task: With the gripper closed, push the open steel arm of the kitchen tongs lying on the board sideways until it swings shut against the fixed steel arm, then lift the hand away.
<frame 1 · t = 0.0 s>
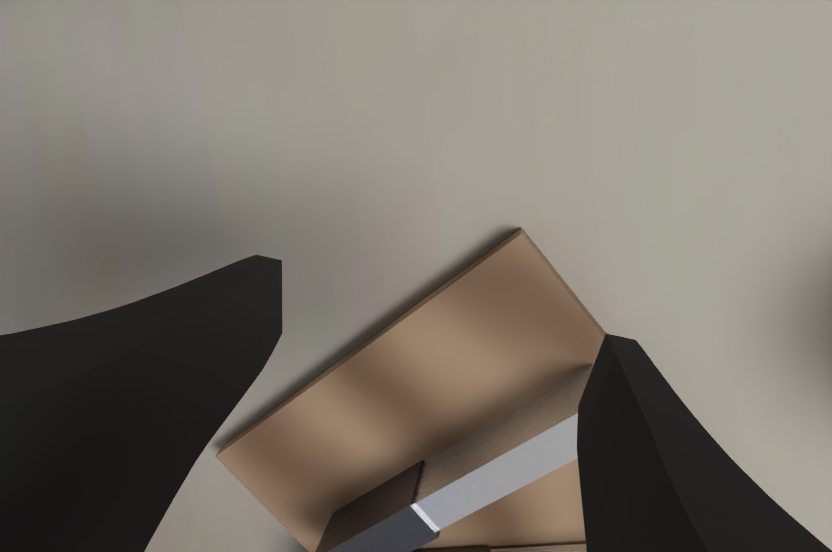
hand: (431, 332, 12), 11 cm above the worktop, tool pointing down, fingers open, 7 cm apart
board: (475, 487, 26), on the worktop
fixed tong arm: (331, 522, 29), resting on board
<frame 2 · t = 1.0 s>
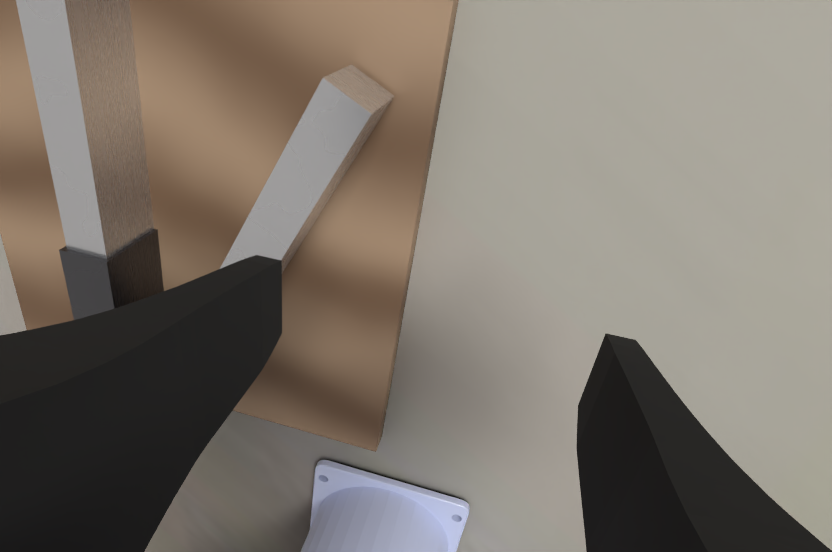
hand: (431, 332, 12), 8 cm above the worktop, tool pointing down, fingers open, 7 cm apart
board: (199, 215, 22), on the worktop
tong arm: (242, 288, 20), point 3 cm above the worktop, hinge at 25.0°
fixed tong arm: (166, 352, 26), resting on board
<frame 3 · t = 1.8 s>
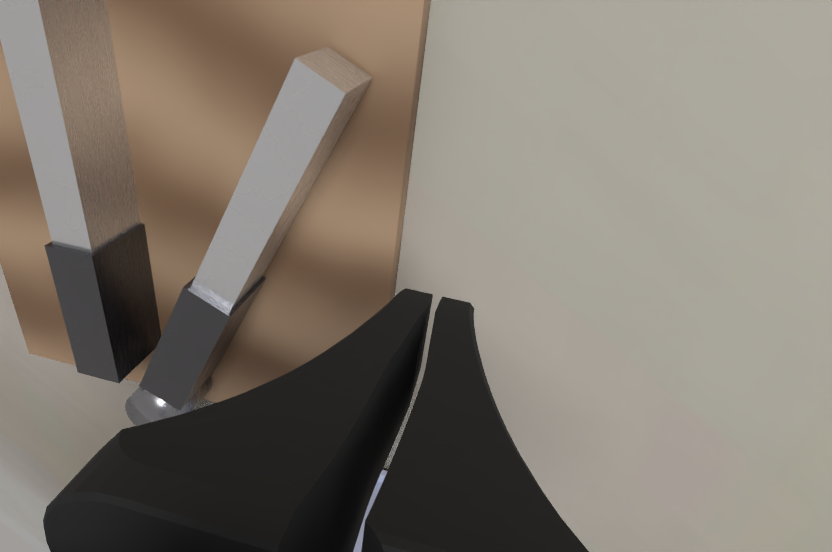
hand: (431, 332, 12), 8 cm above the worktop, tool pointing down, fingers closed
board: (186, 209, 22), on the worktop
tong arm: (228, 279, 20), point 3 cm above the worktop, hinge at 25.0°
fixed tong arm: (160, 349, 26), resting on board
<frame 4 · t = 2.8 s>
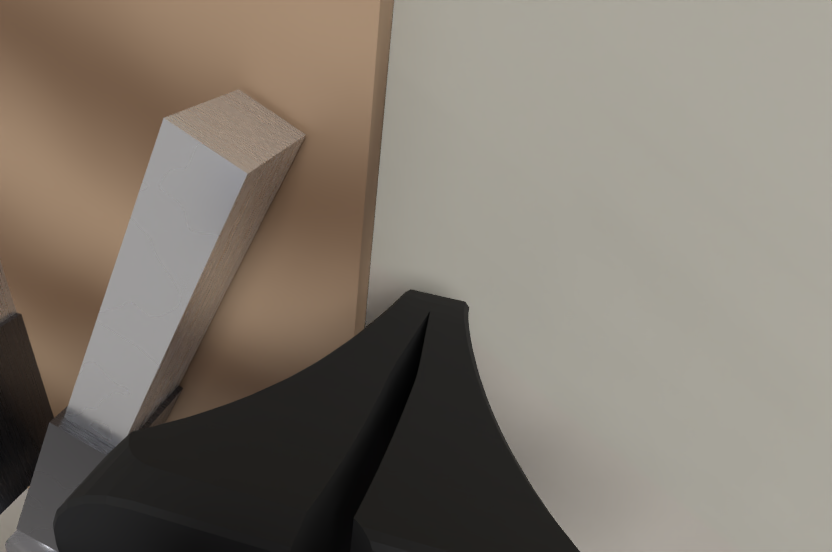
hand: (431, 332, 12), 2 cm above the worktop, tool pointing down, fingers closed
board: (80, 291, 16), on the worktop
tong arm: (123, 400, 14), point 3 cm above the worktop, hinge at 25.0°
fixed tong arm: (70, 451, 21), resting on board
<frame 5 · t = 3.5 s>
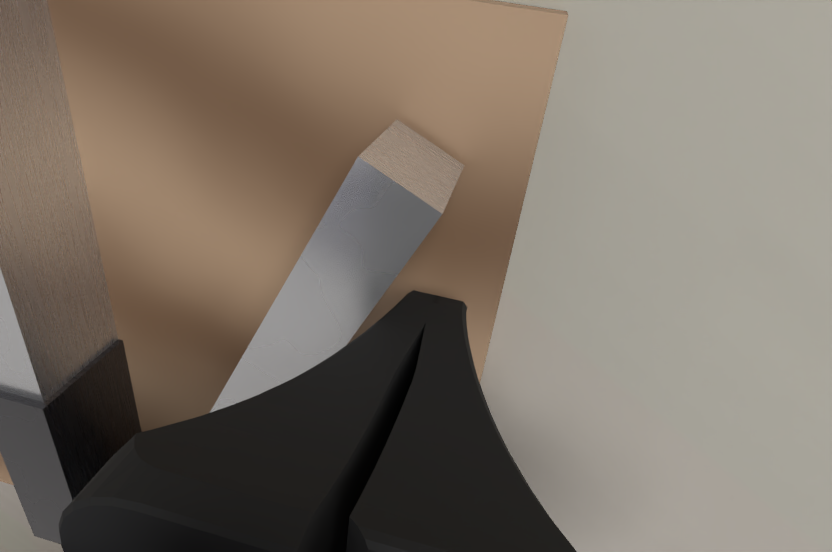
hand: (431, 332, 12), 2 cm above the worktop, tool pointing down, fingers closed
board: (180, 316, 16), on the worktop
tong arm: (239, 432, 14), point 3 cm above the worktop, hinge at 25.0°, touching gripper
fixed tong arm: (149, 474, 20), resting on board
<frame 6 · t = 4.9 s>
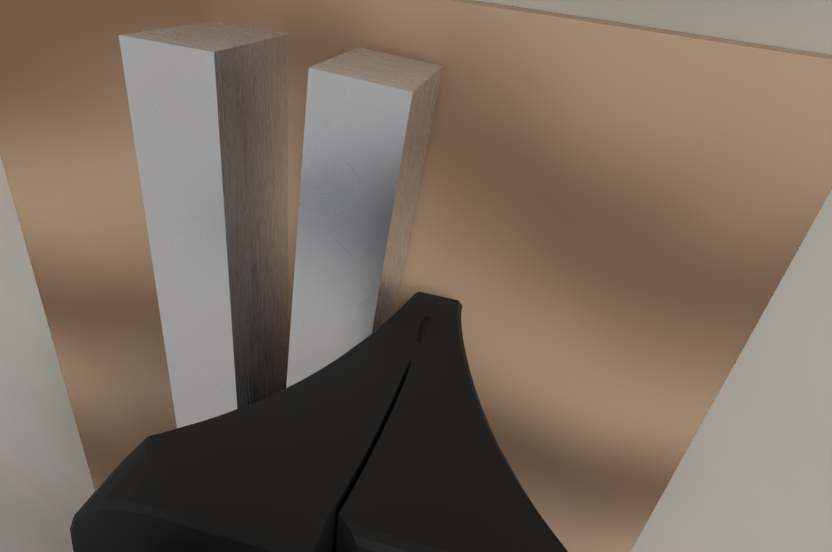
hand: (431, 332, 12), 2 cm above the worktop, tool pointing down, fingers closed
board: (348, 358, 15), on the worktop
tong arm: (330, 437, 13), point 3 cm above the worktop, hinge at 3.2°, touching gripper
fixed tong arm: (278, 511, 20), resting on board
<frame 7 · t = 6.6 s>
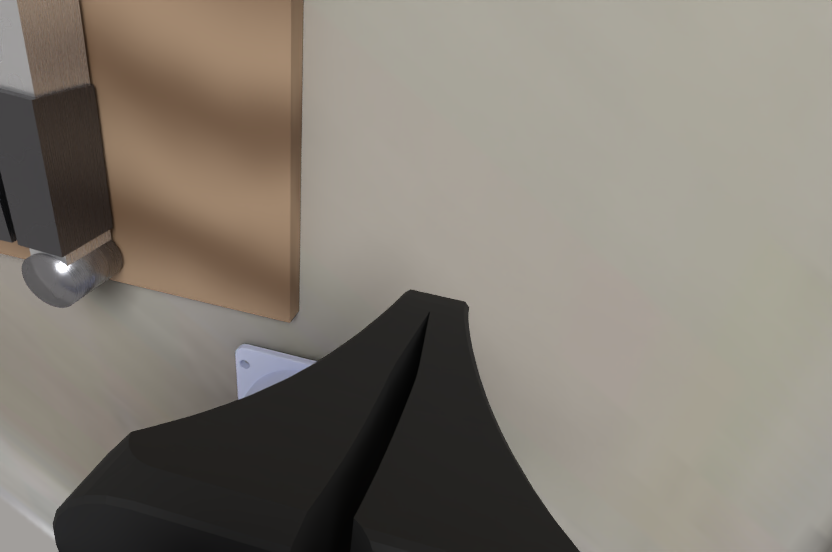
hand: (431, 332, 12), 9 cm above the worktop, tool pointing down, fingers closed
board: (82, 57, 21), on the worktop
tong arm: (39, 81, 19), point 3 cm above the worktop, hinge at 3.1°
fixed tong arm: (73, 230, 25), resting on board
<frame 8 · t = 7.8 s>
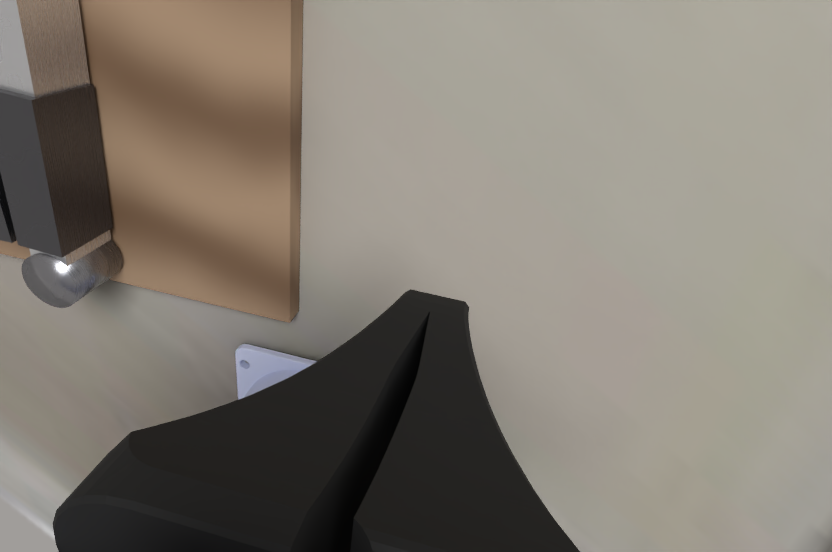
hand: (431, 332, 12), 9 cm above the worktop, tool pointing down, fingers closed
board: (81, 57, 21), on the worktop
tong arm: (39, 81, 19), point 3 cm above the worktop, hinge at 3.1°
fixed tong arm: (73, 231, 25), resting on board
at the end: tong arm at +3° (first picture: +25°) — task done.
